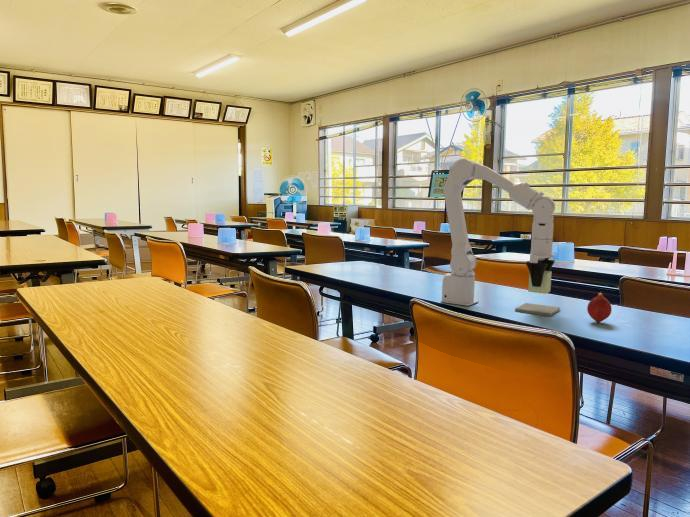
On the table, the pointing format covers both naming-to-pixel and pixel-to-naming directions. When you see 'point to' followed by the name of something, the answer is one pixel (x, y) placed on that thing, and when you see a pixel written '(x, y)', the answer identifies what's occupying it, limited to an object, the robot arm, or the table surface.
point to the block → (544, 285)
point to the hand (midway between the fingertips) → (539, 285)
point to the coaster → (537, 309)
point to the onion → (599, 308)
